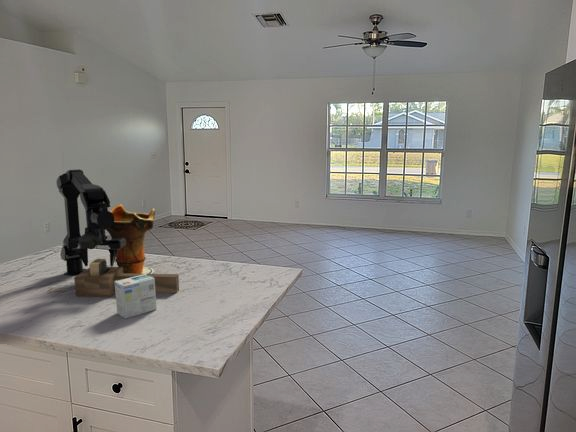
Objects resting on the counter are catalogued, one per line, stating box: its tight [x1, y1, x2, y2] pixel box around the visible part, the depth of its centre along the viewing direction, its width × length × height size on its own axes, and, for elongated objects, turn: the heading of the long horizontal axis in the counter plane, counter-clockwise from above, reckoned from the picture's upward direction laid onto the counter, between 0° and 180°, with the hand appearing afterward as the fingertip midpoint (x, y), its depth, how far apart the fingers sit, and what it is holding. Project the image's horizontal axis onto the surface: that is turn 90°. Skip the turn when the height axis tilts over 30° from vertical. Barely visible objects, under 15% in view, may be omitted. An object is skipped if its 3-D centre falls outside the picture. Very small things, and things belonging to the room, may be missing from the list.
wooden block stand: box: [73, 266, 180, 298], centre depth 152 cm, size 12×34×7 cm, turn 88°
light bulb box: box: [114, 274, 158, 320], centre depth 134 cm, size 11×7×11 cm, turn 135°
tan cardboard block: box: [89, 258, 108, 276], centre depth 152 cm, size 6×4×8 cm, turn 178°
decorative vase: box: [105, 203, 156, 274], centre depth 170 cm, size 21×23×28 cm
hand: (99, 266), depth 151 cm, fingers open, 9 cm apart
